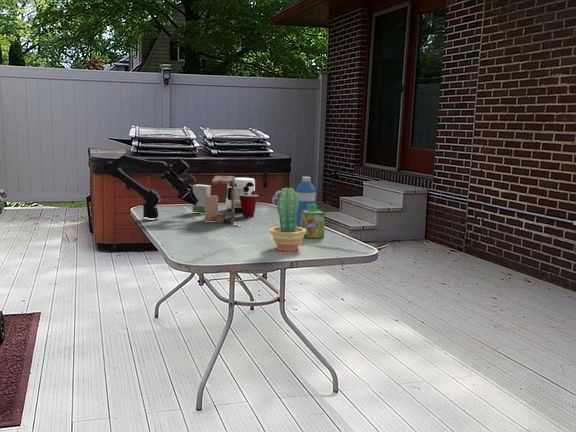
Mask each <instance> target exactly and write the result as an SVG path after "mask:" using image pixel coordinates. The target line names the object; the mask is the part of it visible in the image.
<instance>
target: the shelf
mask: <svg viewBox="0 0 576 432" xmlns="http://www.w3.org/2000/svg"><path fill="white" fill-rule="evenodd" d="M235 176H236V175H214V176H213V178H212V180H211V184H223V185H224V184H225V185H226V184H227V185H228V184H231V210H230V213H231V218H230V219H231V220H230V221H231V223H230V225H232V226H234V225H235V223H234V222H235V216H236V214H235V213H236V211H235V178H236V177H235ZM225 214H226V213H225V212H221V213H218V217H206V216H204V222H205V221H215V222H214V223H225V220H224V219H226V215H225Z"/></svg>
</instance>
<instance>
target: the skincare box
mask: <svg viewBox="0 0 576 432" xmlns="http://www.w3.org/2000/svg"><path fill="white" fill-rule="evenodd" d="M192 186H193V187H192V188H193V193H194V195H195V196H196V198H197V200H198V202H196V203H197V204H196V205H193V204H191V205H192V207H191V208H192V209H191V210H192V211H191V212H198V213H206V211H205V197H206V196H212V195H211V193H212V191H211V190H212V185H210V184H209V185H208V184H201V183H199V184H198V183H197V184H193V185H192Z"/></svg>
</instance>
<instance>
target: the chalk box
mask: <svg viewBox="0 0 576 432" xmlns="http://www.w3.org/2000/svg"><path fill="white" fill-rule="evenodd" d="M317 204H318V203H315V204H307V210H301V211H300V227H301V228H305V229H306V230H307V231H306V234H305V235H304V237H303V239H324V238H325V235H324V234H325V221H326V220H325V217H326V216H325V215H326V213H325V212H323V211H322V210H319V209H318V205H317ZM311 206H313V207H314V209H313V210H311V209H310V207H311Z"/></svg>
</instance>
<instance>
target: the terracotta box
mask: <svg viewBox="0 0 576 432" xmlns="http://www.w3.org/2000/svg"><path fill="white" fill-rule="evenodd" d="M205 211H206V215H205V217H218V214H219V196H218V195H211V196H206V197H205Z"/></svg>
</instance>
